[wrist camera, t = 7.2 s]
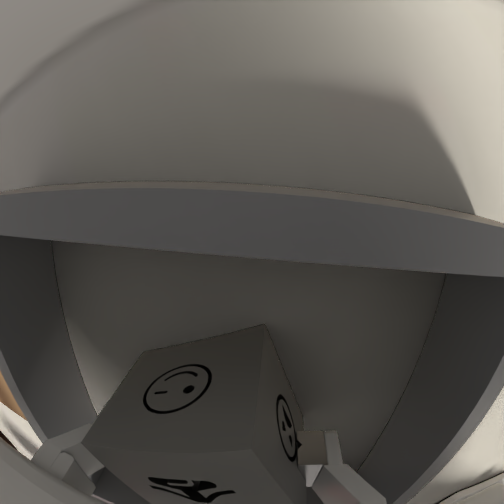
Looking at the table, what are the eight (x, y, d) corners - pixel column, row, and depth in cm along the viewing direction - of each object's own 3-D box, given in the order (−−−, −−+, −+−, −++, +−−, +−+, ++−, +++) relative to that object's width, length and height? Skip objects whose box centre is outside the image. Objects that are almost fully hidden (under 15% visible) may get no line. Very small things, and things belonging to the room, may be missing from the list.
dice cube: (265, 323, 9) (251, 448, 4) (302, 416, 10) (307, 518, 5) (143, 351, 10) (80, 442, 5) (198, 431, 11) (171, 517, 6)
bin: (476, 215, 7) (555, 242, 3) (359, 485, 12) (366, 532, 8) (34, 186, 8) (-41, 200, 5) (105, 452, 13) (83, 492, 9)
